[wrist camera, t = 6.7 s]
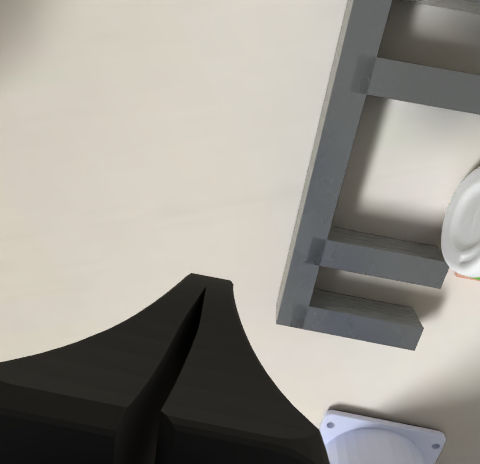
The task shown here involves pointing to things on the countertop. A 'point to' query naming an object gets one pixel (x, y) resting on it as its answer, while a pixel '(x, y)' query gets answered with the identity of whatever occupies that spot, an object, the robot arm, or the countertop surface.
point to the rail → (331, 178)
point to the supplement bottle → (463, 228)
